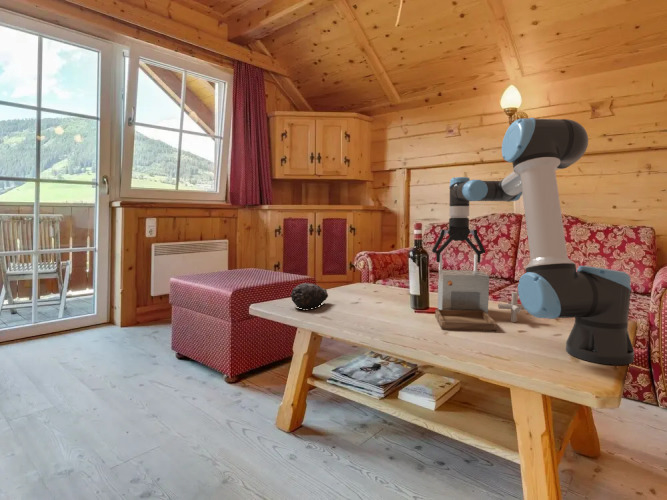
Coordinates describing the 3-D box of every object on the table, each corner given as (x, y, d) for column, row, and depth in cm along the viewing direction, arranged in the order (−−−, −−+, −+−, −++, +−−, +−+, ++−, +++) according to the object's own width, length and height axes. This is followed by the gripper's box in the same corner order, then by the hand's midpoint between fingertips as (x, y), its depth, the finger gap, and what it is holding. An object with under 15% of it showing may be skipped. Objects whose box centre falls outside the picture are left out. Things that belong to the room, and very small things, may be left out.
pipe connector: (533, 326, 136) (534, 296, 135) (501, 324, 138) (502, 294, 137) (525, 318, 146) (526, 290, 145) (495, 316, 148) (496, 289, 147)
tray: (496, 331, 130) (497, 323, 129) (441, 329, 132) (441, 321, 132) (484, 317, 147) (484, 310, 146) (435, 316, 149) (435, 309, 148)
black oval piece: (331, 303, 169) (331, 279, 168) (309, 312, 153) (309, 286, 152) (309, 300, 174) (309, 277, 173) (286, 309, 158) (286, 284, 157)
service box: (488, 317, 147) (489, 275, 145) (442, 316, 149) (443, 274, 147) (479, 308, 160) (481, 270, 158) (437, 307, 162) (438, 269, 160)
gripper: (489, 217, 164) (488, 270, 166) (425, 217, 167) (424, 269, 169) (494, 217, 157) (492, 272, 159) (427, 217, 160) (426, 271, 162)
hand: (457, 270), depth 164 cm, fingers open, 13 cm apart
